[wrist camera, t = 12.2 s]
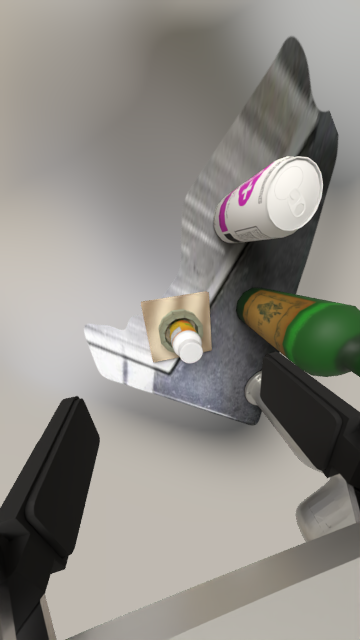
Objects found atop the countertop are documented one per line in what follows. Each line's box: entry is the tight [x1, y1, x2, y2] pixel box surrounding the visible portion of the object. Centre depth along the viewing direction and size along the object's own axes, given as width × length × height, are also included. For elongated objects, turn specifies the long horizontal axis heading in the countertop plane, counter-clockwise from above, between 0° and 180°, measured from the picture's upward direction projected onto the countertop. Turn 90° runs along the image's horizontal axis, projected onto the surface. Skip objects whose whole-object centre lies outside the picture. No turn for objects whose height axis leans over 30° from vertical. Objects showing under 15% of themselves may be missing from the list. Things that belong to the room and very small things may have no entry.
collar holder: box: [141, 291, 212, 362], centre depth 37 cm, size 14×14×4 cm
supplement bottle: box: [169, 319, 203, 363], centre depth 33 cm, size 5×5×10 cm
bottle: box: [236, 288, 360, 377], centre depth 28 cm, size 11×11×28 cm
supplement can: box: [214, 156, 323, 243], centre depth 26 cm, size 8×8×15 cm
